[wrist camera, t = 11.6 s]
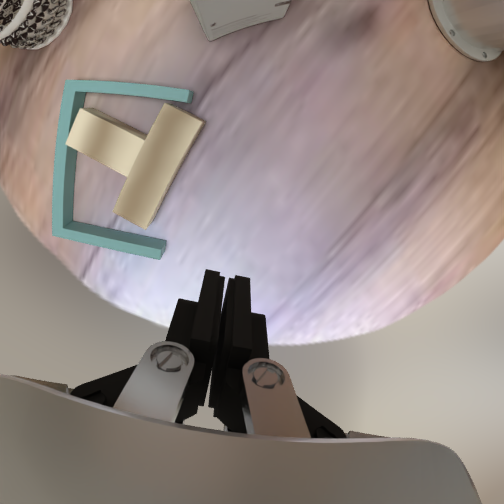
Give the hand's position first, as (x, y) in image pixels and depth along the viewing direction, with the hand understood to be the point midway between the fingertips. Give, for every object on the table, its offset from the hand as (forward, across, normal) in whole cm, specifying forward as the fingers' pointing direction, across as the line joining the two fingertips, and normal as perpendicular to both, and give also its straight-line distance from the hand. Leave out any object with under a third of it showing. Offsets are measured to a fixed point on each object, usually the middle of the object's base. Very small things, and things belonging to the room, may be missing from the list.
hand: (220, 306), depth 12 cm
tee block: (+22, +12, -2) cm, 25 cm away
